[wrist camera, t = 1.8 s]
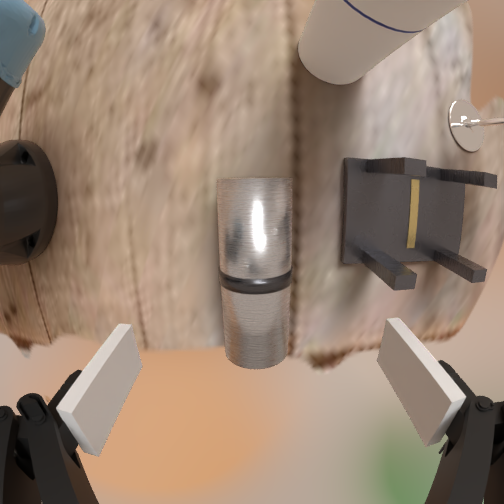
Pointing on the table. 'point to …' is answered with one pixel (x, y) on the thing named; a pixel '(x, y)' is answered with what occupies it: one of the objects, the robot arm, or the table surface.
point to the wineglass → (469, 125)
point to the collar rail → (406, 217)
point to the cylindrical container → (362, 33)
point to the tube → (255, 268)
